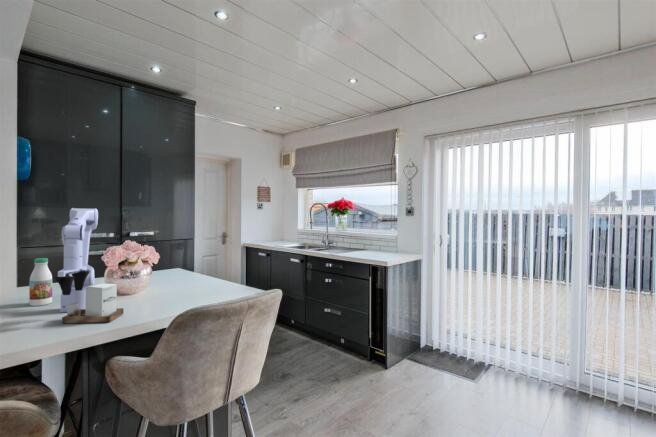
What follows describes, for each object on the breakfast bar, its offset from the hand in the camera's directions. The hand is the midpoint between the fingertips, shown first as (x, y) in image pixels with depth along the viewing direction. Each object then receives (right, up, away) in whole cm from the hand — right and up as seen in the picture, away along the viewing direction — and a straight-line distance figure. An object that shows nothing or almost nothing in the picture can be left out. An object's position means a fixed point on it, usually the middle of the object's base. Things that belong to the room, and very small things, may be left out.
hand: (72, 292), depth 129 cm
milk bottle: (-29, -10, +20) cm, 37 cm away
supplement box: (+10, -10, +2) cm, 14 cm away
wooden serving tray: (+7, -10, +1) cm, 13 cm away
